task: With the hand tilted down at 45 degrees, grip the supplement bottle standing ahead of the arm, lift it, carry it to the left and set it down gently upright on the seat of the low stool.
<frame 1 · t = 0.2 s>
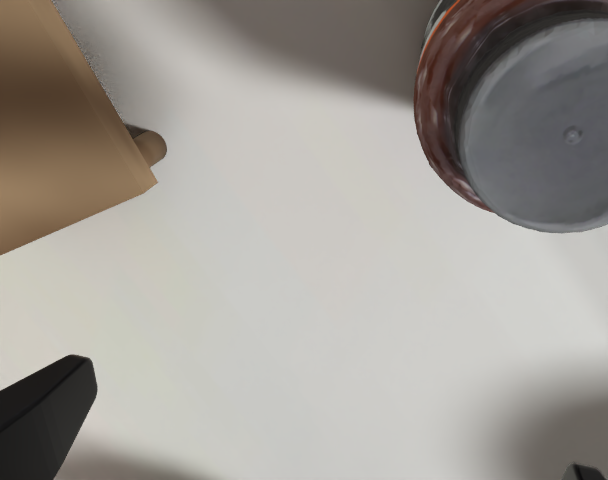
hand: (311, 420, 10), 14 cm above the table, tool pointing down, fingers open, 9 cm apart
stool: (46, 101, 25), on the table
supplement bottle: (506, 46, 20), on the table
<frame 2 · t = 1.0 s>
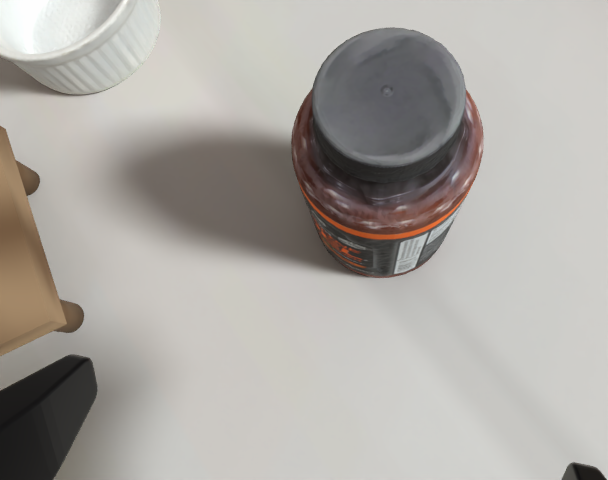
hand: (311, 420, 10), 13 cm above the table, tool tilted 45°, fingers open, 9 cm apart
ramekin: (96, 35, 30), on the table
supplement bottle: (381, 218, 25), on the table
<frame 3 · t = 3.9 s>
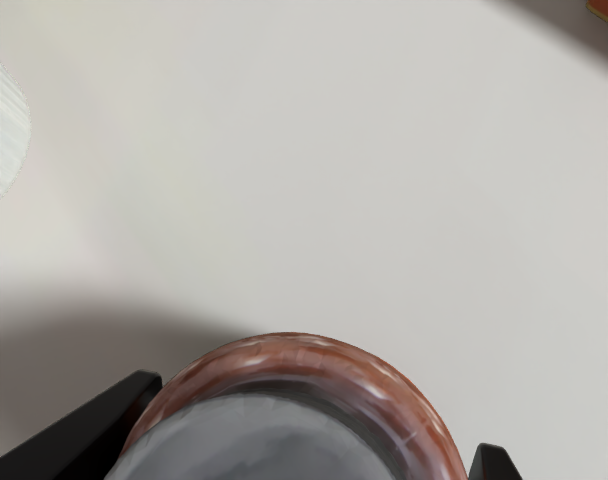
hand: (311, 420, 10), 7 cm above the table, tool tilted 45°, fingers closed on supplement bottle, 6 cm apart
supplement bottle: (328, 452, 17), on the table, touching gripper
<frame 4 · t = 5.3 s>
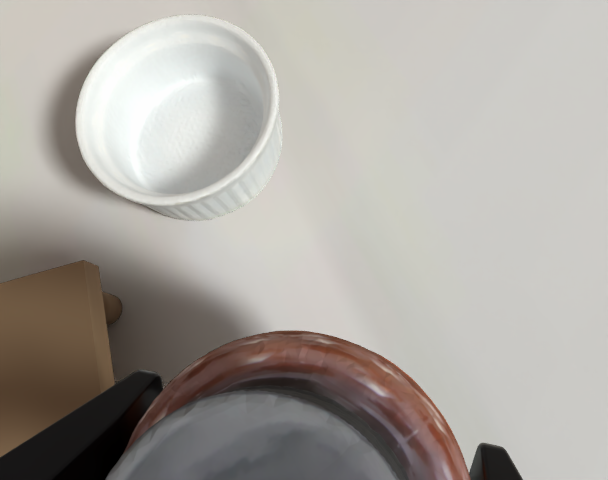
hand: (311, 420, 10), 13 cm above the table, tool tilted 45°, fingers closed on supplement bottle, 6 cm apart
ramekin: (206, 148, 27), on the table
stool: (39, 412, 24), on the table
supplement bottle: (332, 451, 17), point 6 cm above the table, touching gripper
when the fingers open (12 cm above the table, at t = 7.1 s): supplement bottle stays where it is, resting on stool.
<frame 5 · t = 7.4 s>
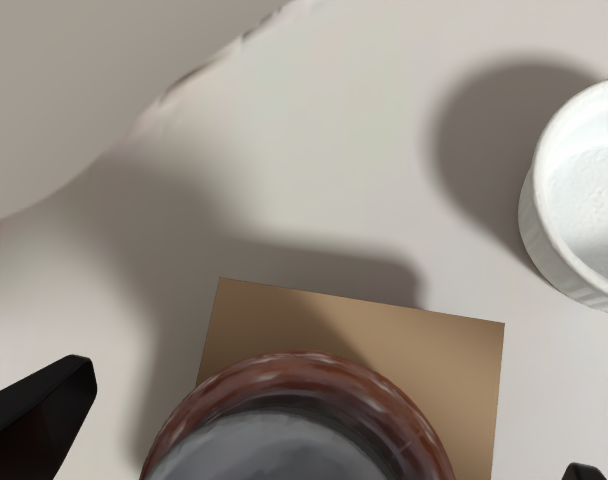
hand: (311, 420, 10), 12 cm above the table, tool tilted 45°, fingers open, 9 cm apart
stool: (339, 438, 21), on the table
supplement bottle: (330, 454, 18), point 4 cm above the table, touching stool
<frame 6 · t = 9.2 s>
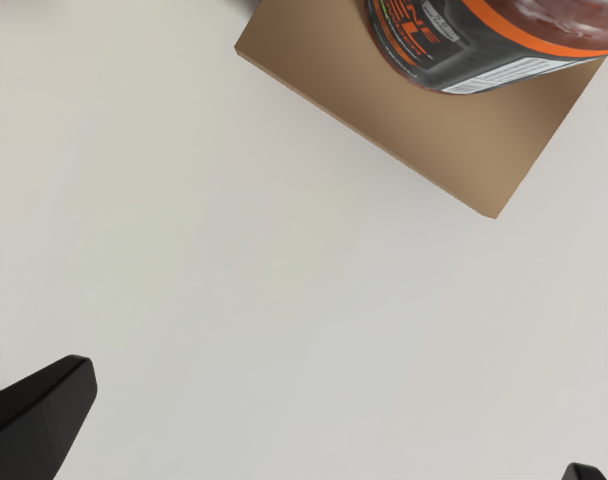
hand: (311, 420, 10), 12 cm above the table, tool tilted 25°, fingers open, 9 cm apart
stool: (424, 27, 20), on the table
supplement bottle: (452, 2, 17), point 4 cm above the table, touching stool
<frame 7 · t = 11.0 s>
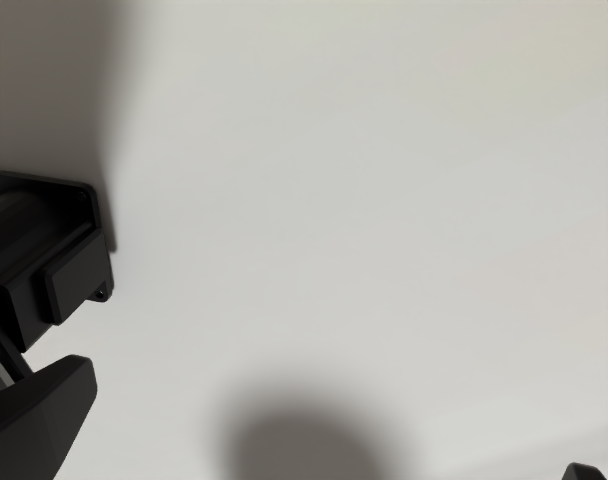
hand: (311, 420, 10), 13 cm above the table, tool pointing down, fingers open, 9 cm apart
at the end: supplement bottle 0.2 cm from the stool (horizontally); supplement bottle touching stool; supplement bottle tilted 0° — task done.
